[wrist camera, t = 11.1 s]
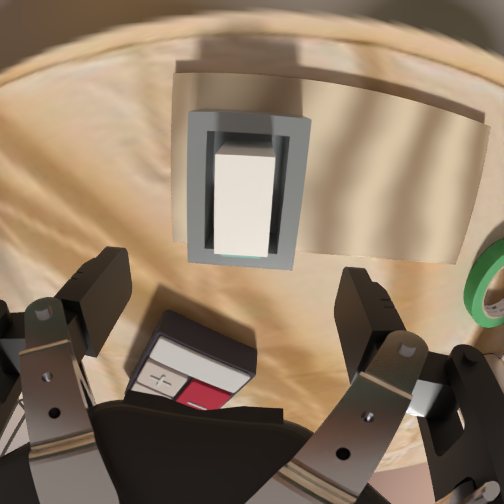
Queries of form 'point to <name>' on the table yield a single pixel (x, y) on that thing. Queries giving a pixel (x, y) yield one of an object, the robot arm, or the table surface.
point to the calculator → (192, 364)
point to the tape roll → (485, 287)
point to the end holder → (284, 187)
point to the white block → (243, 198)
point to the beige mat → (354, 164)
